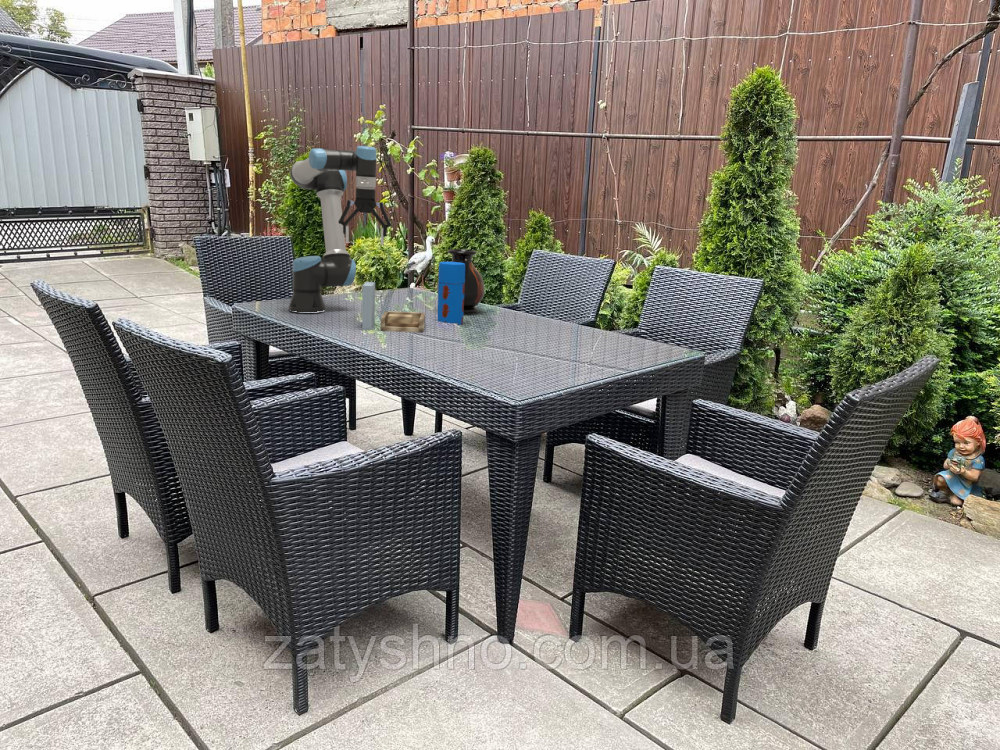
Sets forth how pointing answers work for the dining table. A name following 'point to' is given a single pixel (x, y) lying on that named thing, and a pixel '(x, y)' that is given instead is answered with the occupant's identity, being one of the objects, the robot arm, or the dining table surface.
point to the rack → (416, 318)
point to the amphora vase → (469, 279)
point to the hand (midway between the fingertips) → (364, 243)
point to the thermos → (451, 292)
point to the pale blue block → (368, 305)
